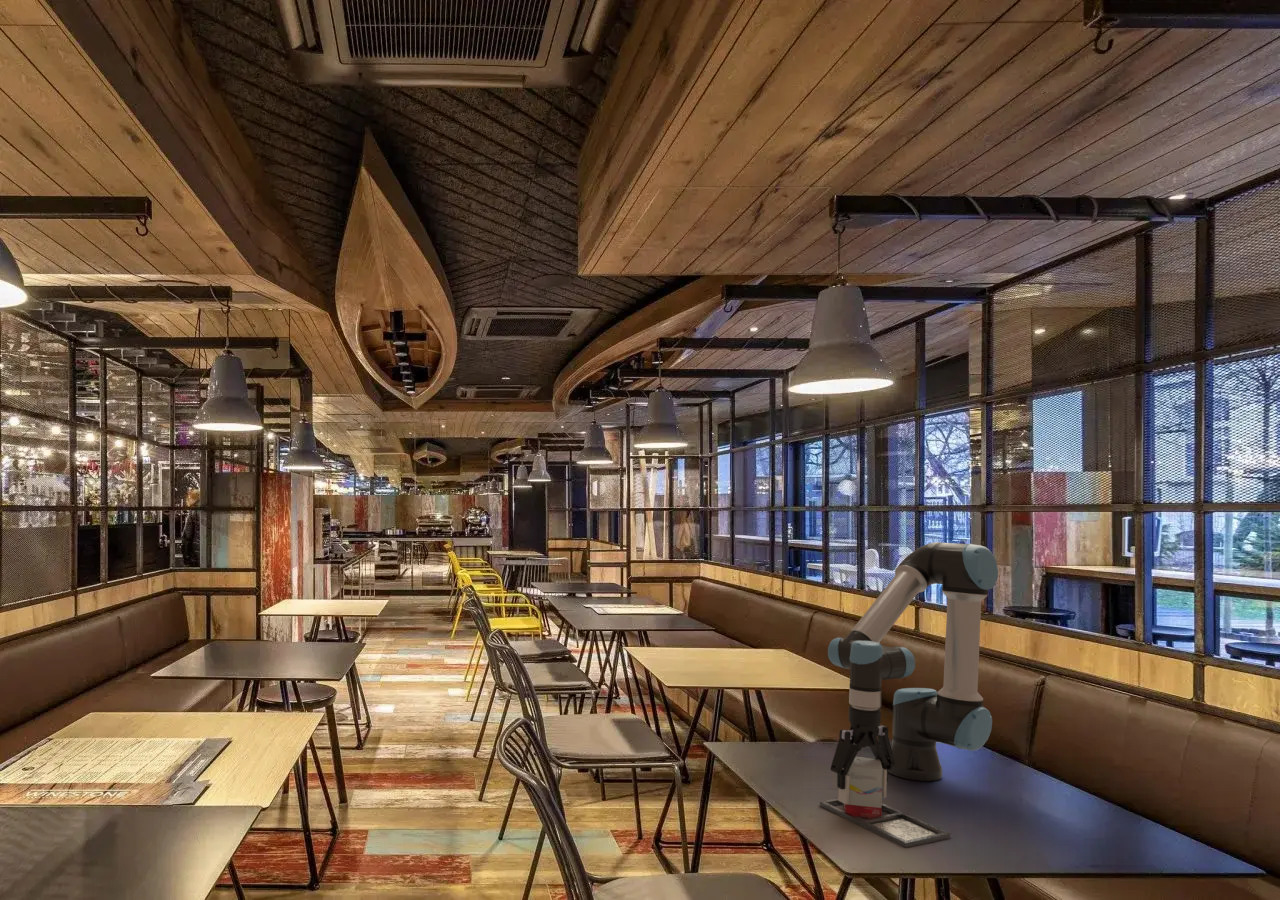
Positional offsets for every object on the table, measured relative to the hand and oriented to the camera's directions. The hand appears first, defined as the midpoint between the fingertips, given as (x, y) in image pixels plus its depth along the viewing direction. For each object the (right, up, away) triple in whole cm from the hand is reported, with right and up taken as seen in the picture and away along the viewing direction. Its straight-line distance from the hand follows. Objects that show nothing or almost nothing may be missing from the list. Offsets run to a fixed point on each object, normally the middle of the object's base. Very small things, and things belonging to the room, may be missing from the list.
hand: (862, 799), depth 197 cm
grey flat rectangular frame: (+3, -3, -6) cm, 7 cm away
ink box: (0, -3, 0) cm, 3 cm away
